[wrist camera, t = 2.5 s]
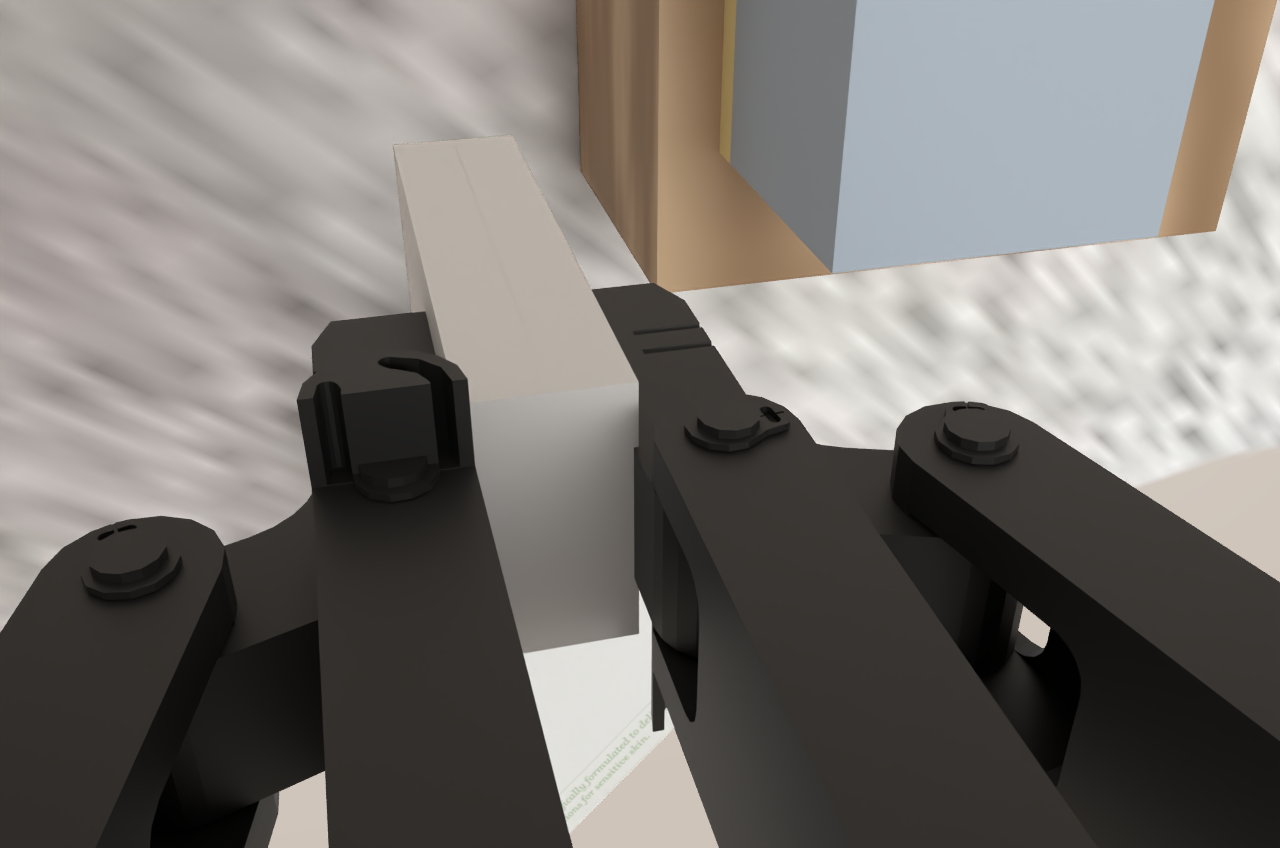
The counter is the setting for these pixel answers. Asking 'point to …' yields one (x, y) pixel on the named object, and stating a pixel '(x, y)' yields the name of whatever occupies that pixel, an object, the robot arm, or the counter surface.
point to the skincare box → (595, 714)
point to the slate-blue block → (958, 121)
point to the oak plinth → (733, 211)
